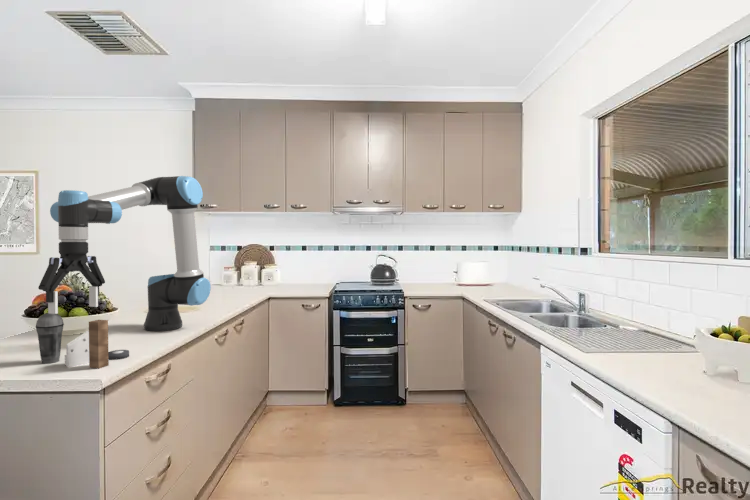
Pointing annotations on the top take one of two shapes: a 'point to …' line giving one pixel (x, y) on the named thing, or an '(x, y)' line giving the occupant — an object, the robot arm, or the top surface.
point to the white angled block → (78, 351)
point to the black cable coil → (118, 354)
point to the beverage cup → (49, 337)
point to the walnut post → (98, 344)
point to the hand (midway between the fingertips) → (74, 310)
